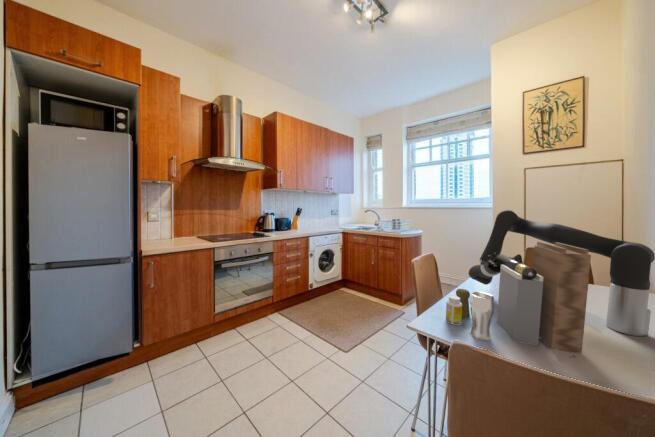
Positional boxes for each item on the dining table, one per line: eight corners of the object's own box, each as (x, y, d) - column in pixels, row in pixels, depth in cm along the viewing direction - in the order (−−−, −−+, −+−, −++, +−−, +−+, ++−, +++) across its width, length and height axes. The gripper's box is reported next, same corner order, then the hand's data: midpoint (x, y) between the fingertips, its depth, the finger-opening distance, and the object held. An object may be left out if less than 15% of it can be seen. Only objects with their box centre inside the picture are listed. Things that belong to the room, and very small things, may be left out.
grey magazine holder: (517, 324, 95) (521, 266, 93) (538, 345, 81) (543, 276, 80) (496, 322, 97) (500, 264, 95) (513, 341, 83) (518, 275, 82)
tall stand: (553, 330, 91) (560, 242, 88) (581, 353, 77) (591, 250, 75) (528, 327, 93) (534, 241, 90) (551, 349, 79) (560, 248, 77)
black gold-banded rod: (495, 263, 103) (495, 254, 103) (506, 263, 102) (506, 254, 102) (523, 280, 81) (524, 268, 81) (538, 280, 80) (538, 268, 80)
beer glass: (470, 328, 92) (473, 290, 91) (492, 335, 87) (495, 294, 86) (467, 336, 86) (469, 295, 85) (490, 343, 82) (493, 300, 81)
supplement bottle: (463, 322, 96) (464, 297, 96) (459, 327, 92) (460, 301, 92) (448, 317, 100) (449, 293, 99) (443, 322, 96) (444, 297, 95)
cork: (472, 319, 99) (473, 292, 98) (456, 317, 100) (457, 291, 100) (466, 312, 105) (468, 287, 104) (451, 311, 106) (453, 286, 105)
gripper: (474, 257, 115) (486, 246, 100) (508, 259, 111) (526, 248, 97) (475, 273, 111) (488, 263, 97) (511, 276, 108) (530, 266, 94)
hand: (507, 255), depth 97 cm, fingers open, 8 cm apart
